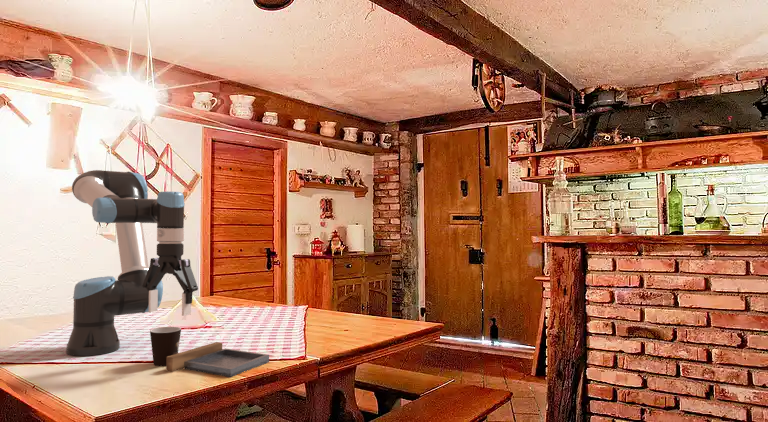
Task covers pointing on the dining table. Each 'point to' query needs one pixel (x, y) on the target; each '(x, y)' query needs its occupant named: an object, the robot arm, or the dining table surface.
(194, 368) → the tray
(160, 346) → the coffee mug
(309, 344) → the dining table surface
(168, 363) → the brown long thin block
